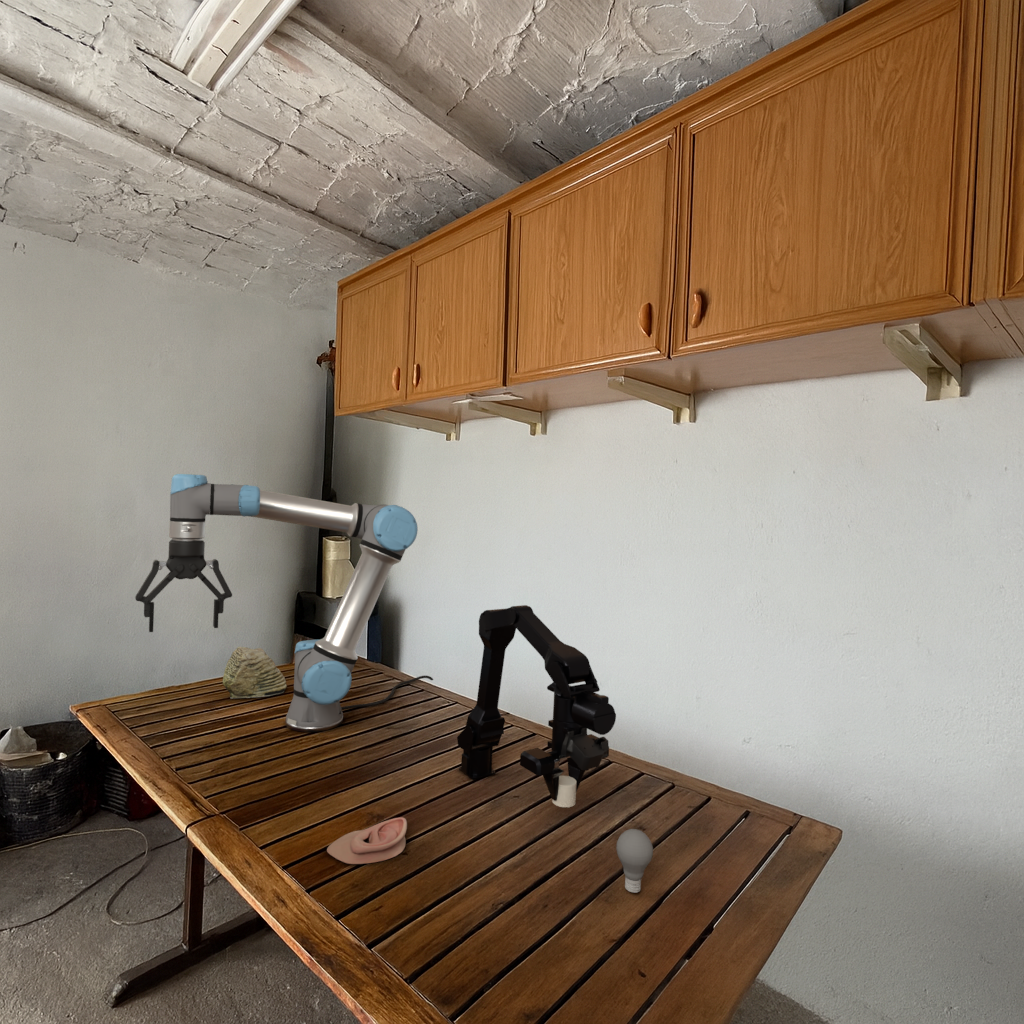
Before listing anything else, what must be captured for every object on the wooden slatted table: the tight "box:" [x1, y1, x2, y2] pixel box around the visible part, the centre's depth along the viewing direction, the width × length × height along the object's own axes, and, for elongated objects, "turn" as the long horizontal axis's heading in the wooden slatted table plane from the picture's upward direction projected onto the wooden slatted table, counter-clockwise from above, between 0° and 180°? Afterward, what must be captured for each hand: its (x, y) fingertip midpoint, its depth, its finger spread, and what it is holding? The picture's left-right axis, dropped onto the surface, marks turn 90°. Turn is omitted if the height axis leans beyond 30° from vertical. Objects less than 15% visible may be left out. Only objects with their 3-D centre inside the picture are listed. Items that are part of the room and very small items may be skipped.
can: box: [551, 775, 577, 808], centre depth 124 cm, size 5×5×4 cm
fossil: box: [222, 646, 288, 699], centre depth 198 cm, size 9×18×15 cm, turn 132°
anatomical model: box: [326, 816, 408, 865], centre depth 115 cm, size 13×4×12 cm
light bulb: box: [615, 828, 654, 894], centre depth 106 cm, size 6×6×10 cm
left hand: (184, 629), depth 150 cm, fingers open, 13 cm apart
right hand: (563, 796), depth 124 cm, fingers closed on can, 4 cm apart
